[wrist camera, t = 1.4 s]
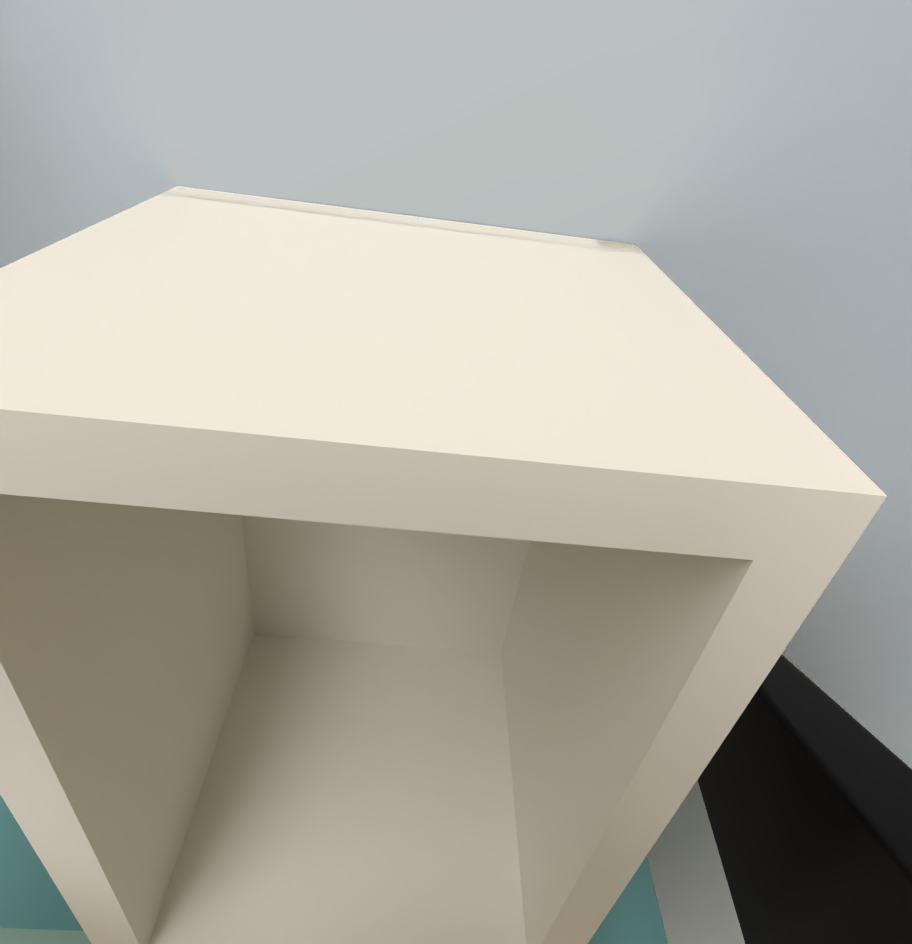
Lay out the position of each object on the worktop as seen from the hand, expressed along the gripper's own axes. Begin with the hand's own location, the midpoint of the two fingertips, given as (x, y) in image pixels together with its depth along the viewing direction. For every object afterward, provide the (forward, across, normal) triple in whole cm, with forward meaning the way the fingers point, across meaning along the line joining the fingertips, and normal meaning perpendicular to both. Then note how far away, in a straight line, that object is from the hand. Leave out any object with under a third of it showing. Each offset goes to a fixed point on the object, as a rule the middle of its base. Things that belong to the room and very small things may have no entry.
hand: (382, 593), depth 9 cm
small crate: (+3, 0, 0) cm, 3 cm away
